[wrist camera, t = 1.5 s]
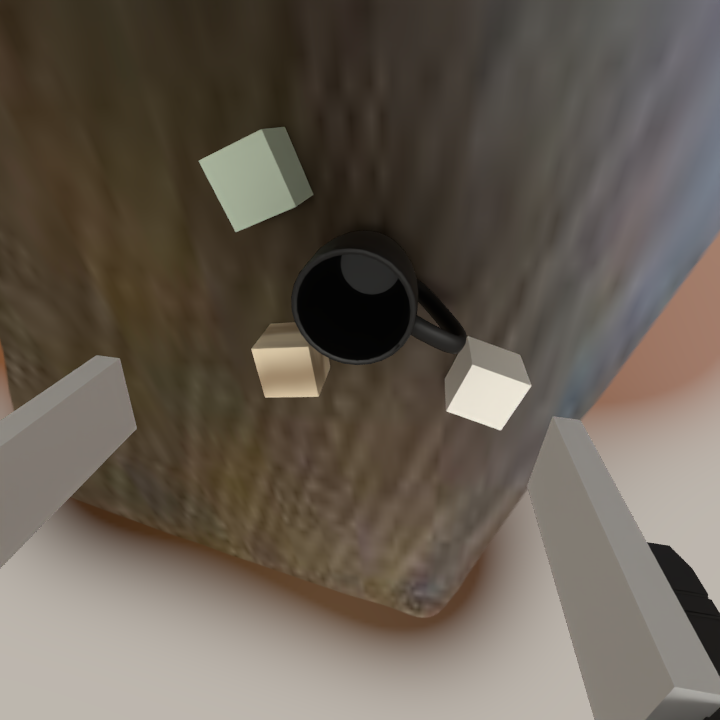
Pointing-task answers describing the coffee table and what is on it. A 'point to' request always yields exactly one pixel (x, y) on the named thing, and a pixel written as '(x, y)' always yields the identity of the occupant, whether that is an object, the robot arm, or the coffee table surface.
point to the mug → (367, 302)
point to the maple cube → (289, 363)
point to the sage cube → (257, 177)
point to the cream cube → (485, 383)
